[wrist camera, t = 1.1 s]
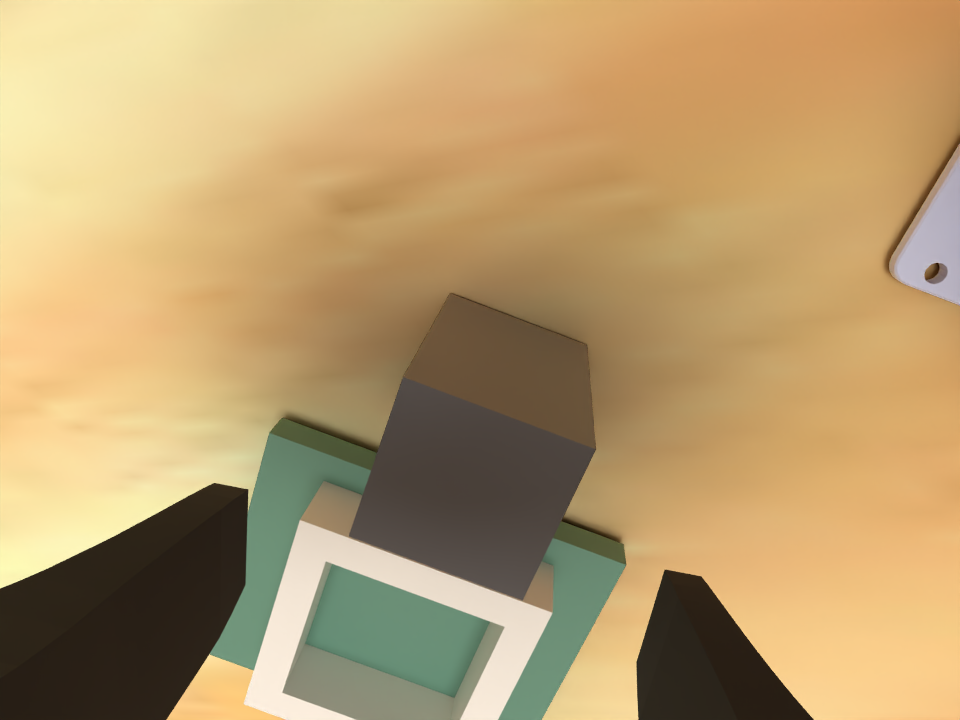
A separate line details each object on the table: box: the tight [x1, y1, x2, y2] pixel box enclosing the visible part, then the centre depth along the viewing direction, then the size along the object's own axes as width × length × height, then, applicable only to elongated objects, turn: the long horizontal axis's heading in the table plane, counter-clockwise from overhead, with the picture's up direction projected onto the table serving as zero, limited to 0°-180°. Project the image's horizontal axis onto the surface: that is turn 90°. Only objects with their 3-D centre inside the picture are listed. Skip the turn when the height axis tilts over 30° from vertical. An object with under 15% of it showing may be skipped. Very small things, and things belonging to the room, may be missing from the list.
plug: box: [349, 293, 596, 601], centre depth 17 cm, size 4×6×6 cm
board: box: [210, 418, 626, 720], centre depth 22 cm, size 11×9×1 cm
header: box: [244, 481, 554, 720], centre depth 21 cm, size 7×7×2 cm
